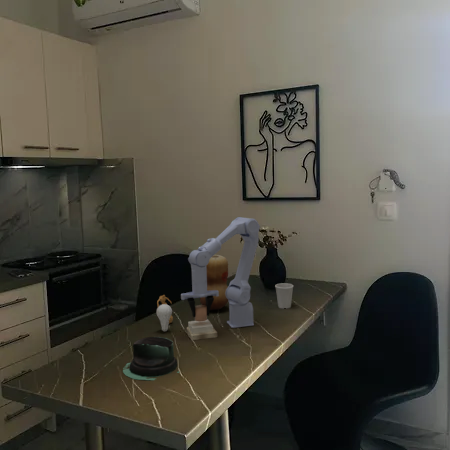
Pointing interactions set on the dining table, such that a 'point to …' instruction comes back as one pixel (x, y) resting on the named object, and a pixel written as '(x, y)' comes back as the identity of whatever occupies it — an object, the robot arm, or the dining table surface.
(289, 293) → the dixie cup
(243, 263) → the robot arm
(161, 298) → the figurine
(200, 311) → the terracotta cylinder
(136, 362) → the black hat
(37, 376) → the dining table surface
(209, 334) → the birch slab
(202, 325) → the cream slab
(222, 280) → the butternut squash
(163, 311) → the lightbulb
